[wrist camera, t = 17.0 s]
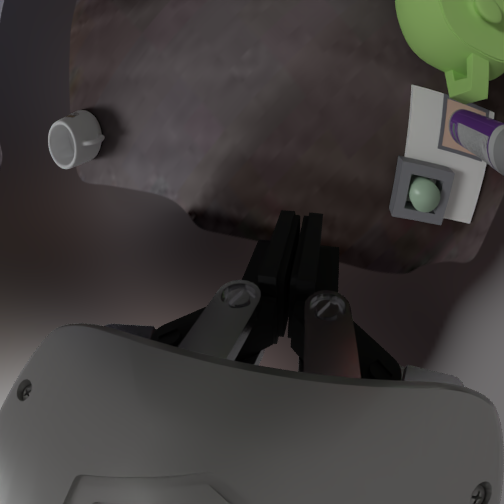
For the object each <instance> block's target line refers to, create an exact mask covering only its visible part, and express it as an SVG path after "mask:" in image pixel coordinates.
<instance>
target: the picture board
mask: <svg viewBox="0 0 504 504" xmlns="http://www.w3.org/2000/svg"><path fill="white" fill-rule="evenodd" d="M459 109H465V110H468V111H471V112H475V113H477V114H480V115H483V116H486V117H489V118H492V119H494V114H495V113H494V112H492V111H490V110H487V109H485V108H482V107H480V106H478V105H475V104H472V103H469V104H462V103H460V102H458V101H456V100H454V99H451V98H449V95H447V94H444V93H440V92H437V91H434V90H430V89H427V88H423V87H419V86H415V85H411V102H410V114H409V124H408V133H407V141H406V148H405V155H404V157H403V156H398V162H397V168H396V174H395V180H394V185H393V191H392V196H391V201H390V206H389V209H390V212H391V214H392V216H394V217H399V218H405V219H411V220H416V221H422V222H427V223H432V224H437V225H441V224H442V220H443V218H446V219H451V220H456V221H460V222H465V223H469V224H470V222H471V219H472V216H473V213H474V209H475V206H476V203H477V199H478V196H479V192H480V189H481V185H482V181H483V177H484V173H485V168H486V164H487V163H486V162H484V161H483V160H482V159H480V158H479V157H477V156H476V155H474V154H473V153H471V152H470V151H468V150H467V149H465V148H464V147H462V146H461V145H459V144H458V143H456V142H455V141H454V140H453V138H452V137H451V135H450V132H449V119H450V117H451V115H452V113H453V112H455V111H456V110H459ZM413 175H419V176H423V177H428V178H430V179H431V180H432V182H433V183H434V184H435V185H436V186H437V188H438V189H439V192H440V201H439V204H438V205H437V207H436V208H435V209H434V210H432V211H430V212H420V211H418V210H417V209H416V208H415V207H414V206H413V204H412V202H411V200H410V198H409V197H408V195H407V193H408V189H409V184H410V179H411V176H413Z"/></svg>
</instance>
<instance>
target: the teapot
mask: <svg viewBox="0 0 504 504" xmlns="http://www.w3.org/2000/svg"><path fill="white" fill-rule="evenodd" d="M395 6H396V13H397V18H398V21H399V25H400V28H401V30H402V33H403V35H404V37H405V39H406V41H407V43H408V45H409V46H410V48H411V49H412V50H413V51H414V53H415V54H416V55H417V56H418V57H419V58H421V59H422V60H423V61H425V62H426V63H428V64H430V65H431V66H433V67H435V68H437V69H439V70H441V71H443V72H445V77H446V82H447V87H448V92H449V98H451V99H454V100H456V101H458V102H460V103H462V104H469V103H473V102H476V101H480V100H484V99H488V86H489V81H490V80H493V79H496V78H497V77H499V76H500V75H502V74H503V73H504V0H395Z"/></svg>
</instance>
